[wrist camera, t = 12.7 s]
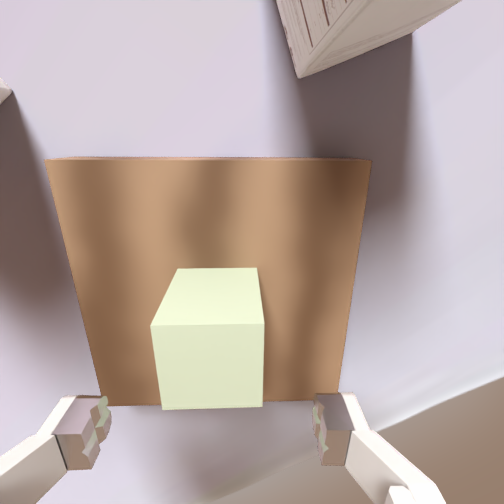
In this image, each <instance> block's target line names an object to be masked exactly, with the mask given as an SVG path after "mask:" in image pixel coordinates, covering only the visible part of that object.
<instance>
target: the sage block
mask: <svg viewBox="0 0 504 504" xmlns="http://www.w3.org/2000/svg"><path fill="white" fill-rule="evenodd" d="M150 328H151V335H152V342H153V349H154V356H155V363H156V370H157V376H158V383H159V390H160V397H161V404H162V410H177V409H209V408H242V407H262V403H263V363H264V316H263V309H262V302H261V294H260V287H259V280H258V272H257V268H192V269H177V271H176V273H175V275H174V277H173V279H172V281H171V283H170V286H169V288H168V290H167V292H166V294H165V296H164V298H163V300H162V302H161V304H160V306H159V308H158V310H157V313H156V315H155V317H154V319H153V321H152V323H151V325H150Z"/></svg>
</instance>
